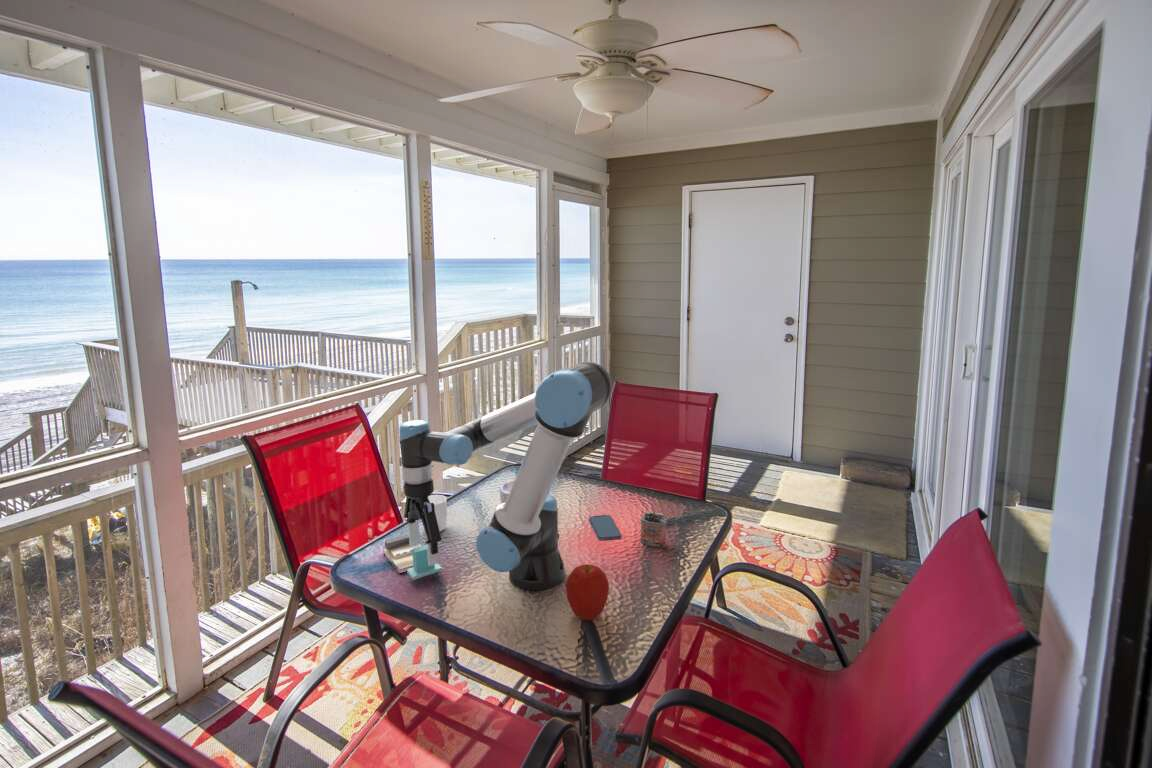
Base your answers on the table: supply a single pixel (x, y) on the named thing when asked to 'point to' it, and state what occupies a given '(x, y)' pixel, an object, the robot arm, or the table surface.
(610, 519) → the smartphone
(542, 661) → the table surface
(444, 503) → the white cup
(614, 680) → the table surface
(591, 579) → the apple
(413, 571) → the teal upright sign stand
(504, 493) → the paper bowls
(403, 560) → the ticket holder
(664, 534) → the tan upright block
